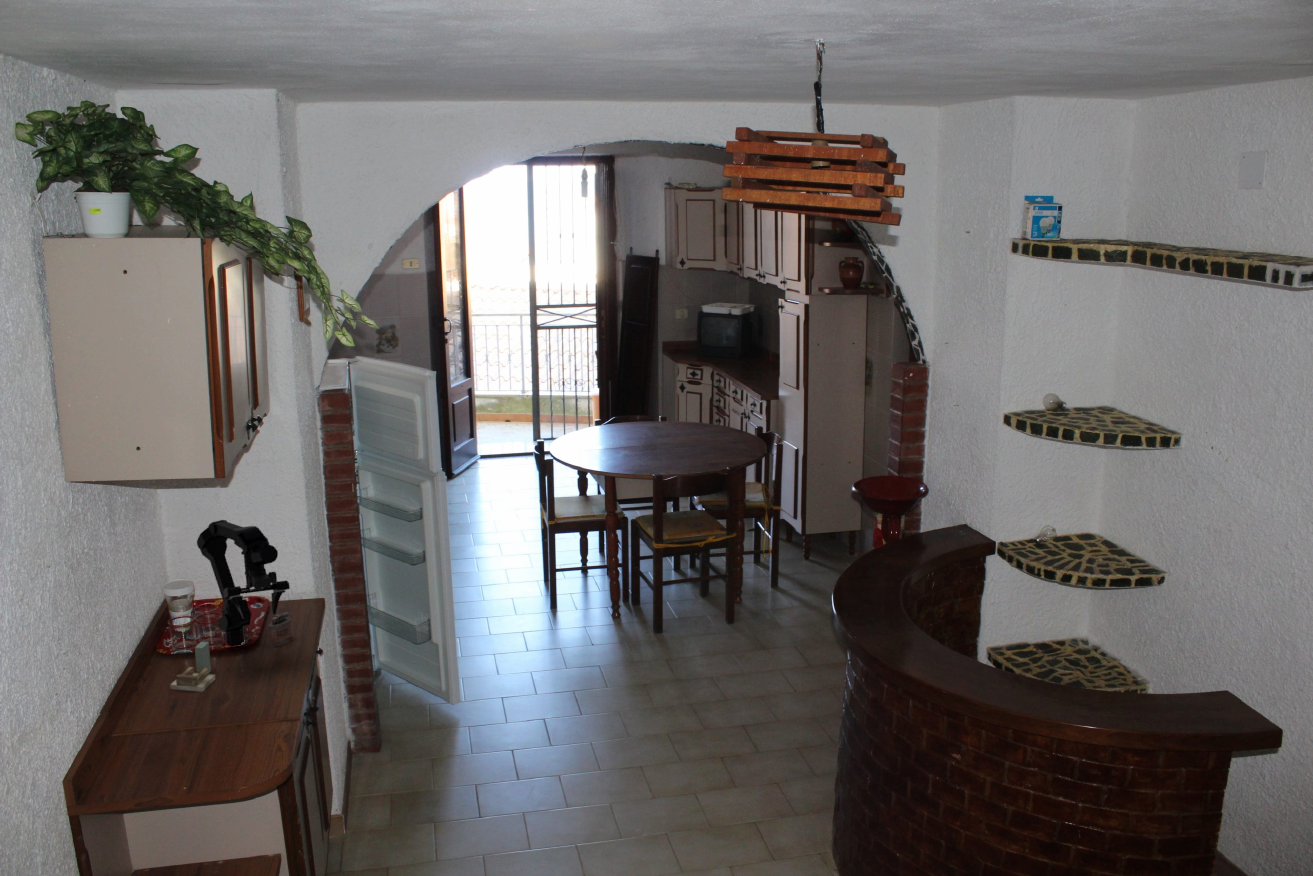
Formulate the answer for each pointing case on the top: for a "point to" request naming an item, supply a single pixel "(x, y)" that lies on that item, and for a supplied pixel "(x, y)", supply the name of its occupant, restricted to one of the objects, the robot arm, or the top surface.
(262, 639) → the top surface
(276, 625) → the lighter
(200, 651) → the plank
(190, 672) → the groove base
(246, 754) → the top surface
